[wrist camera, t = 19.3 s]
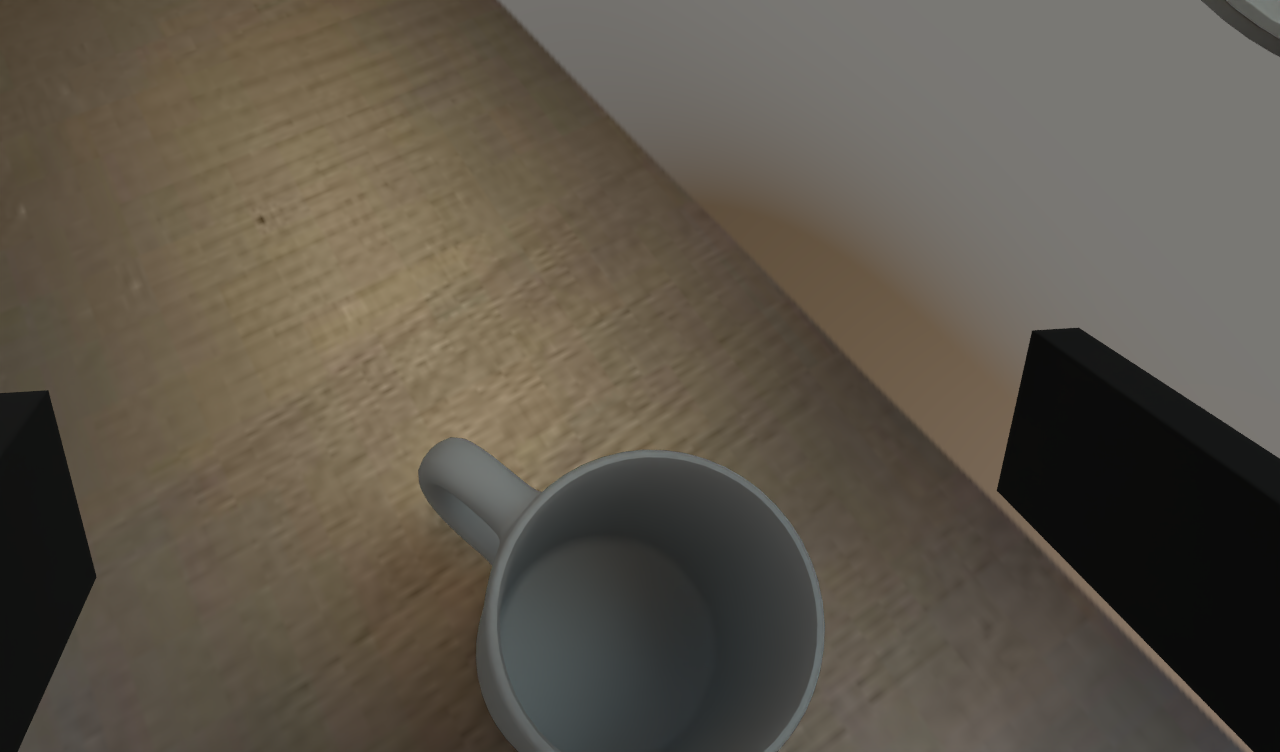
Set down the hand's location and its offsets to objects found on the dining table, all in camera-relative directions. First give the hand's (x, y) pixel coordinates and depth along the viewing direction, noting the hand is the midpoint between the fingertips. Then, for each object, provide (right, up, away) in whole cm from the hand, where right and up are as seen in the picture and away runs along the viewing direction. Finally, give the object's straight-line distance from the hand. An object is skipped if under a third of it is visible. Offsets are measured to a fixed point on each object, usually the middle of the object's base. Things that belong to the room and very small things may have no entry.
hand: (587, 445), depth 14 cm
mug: (-2, -7, +21) cm, 22 cm away
